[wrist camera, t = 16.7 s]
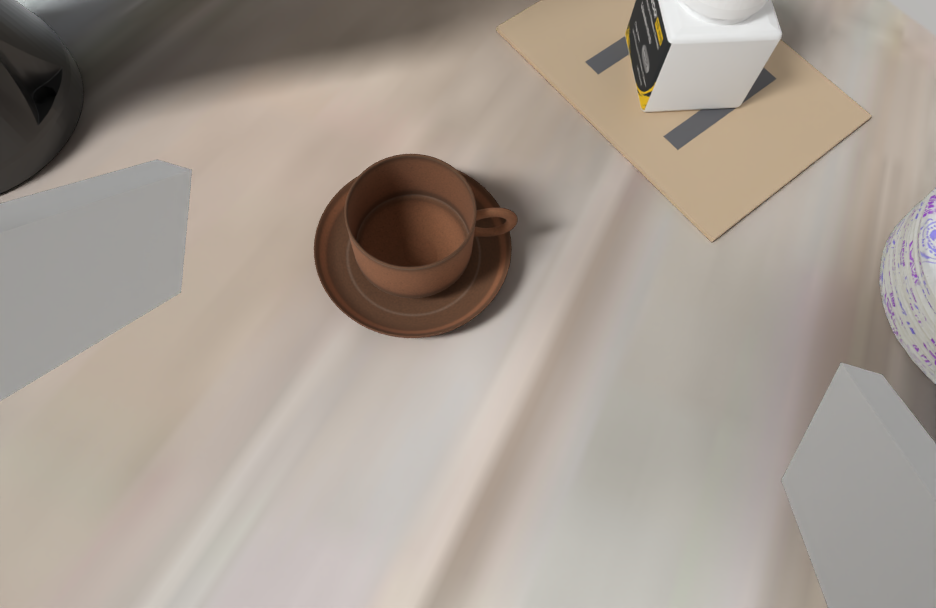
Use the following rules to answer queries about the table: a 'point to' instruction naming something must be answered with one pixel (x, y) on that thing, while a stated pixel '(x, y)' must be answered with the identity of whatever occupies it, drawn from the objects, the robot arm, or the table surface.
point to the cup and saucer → (413, 247)
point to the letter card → (687, 113)
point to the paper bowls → (913, 284)
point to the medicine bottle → (699, 51)
